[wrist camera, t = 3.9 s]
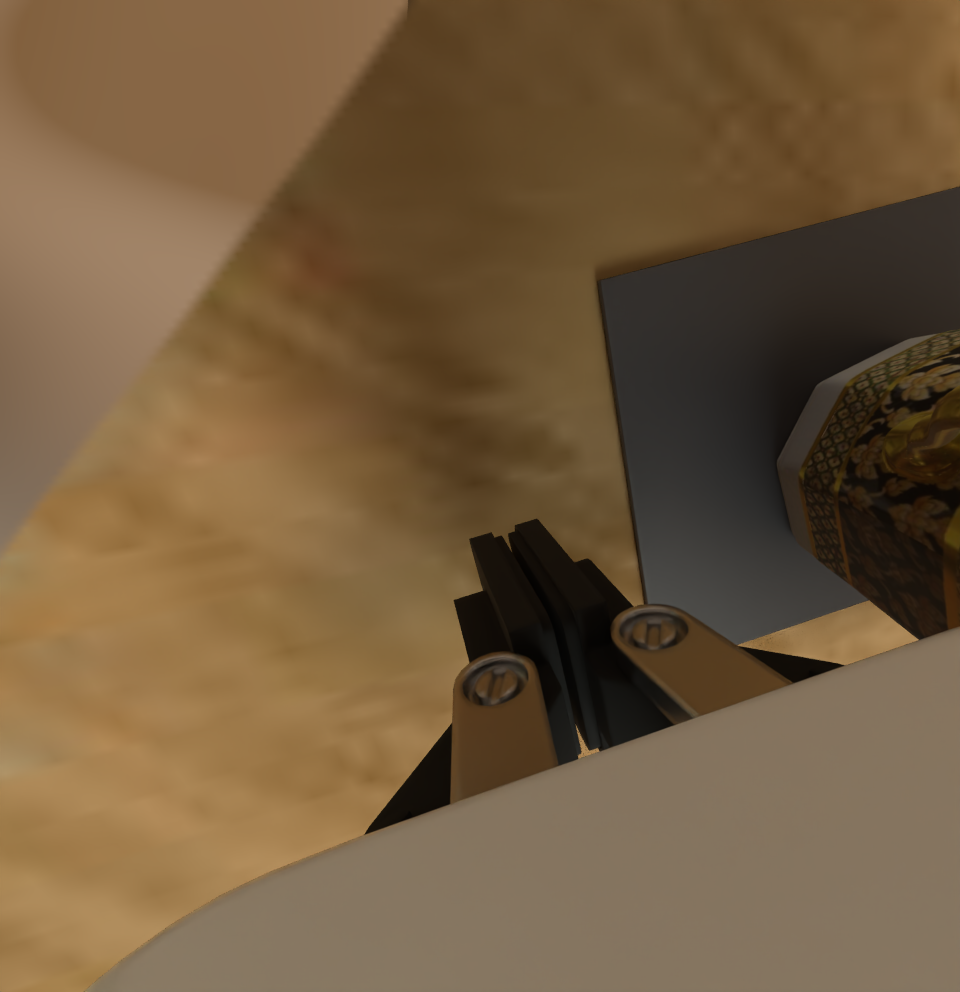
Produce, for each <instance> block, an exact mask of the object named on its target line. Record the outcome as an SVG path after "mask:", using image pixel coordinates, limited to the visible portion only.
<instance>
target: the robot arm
mask: <svg viewBox="0 0 960 992" xmlns="http://www.w3.org/2000/svg"><path fill="white" fill-rule="evenodd" d="M508 537H509V542H510V546H511V550H512V552H511V550H510V548H509V547H508V545H507V543H506V542H505V540H504V538H503V537H502V536H498V537H495V538H494V536H493V534H492V533H487V534H484V535H481V536H477V537H474V538H471V539H469V540H470V544H471V548H472V552H473V555H474V559H475V563H476V566H477V570H478V574H479V577H480V581H481V585H482V588H483V591H481V592H478V593H475V594H471V595H468V596H465V597H462V598H459V599H455V600H454V604H455V607H456V611H457V615H458V619H459V623H460V627H461V631H462V635H463V639H464V642H465V646H466V650H467V654H468V658H469V662H470V663H469V664H468V665H467V666H466V667H465V668H464V669H462V670H461V672H460V673H459V675H458V676H457V678H456V680H455V684H454V688H453V716H452V724H451V725H450V726H449V727H448V729H447V730H446V731H445V732H444V734H443V735H442V736H441V737H440V739H439V740H438V741H437V742H436V744H435V745H434V746H433V747H432V749H431V750H430V751H429V752H428V754H427V755H426V756H425V757H424V759H423V760H422V761H421V762H420V764H419V765H418V766H417V767H416V769H415V770H414V771H413V772H412V774H411V775H410V776H409V778H408V779H407V780H406V781H405V783H404V784H403V785H402V786H401V788H400V789H399V790H398V791H397V793H396V794H395V795H394V796H393V798H392V799H391V800H390V801H389V803H388V804H387V805H386V806H385V808H384V809H383V810H382V811H381V813H380V814H379V815H378V816H377V818H376V819H375V820H374V821H373V823H372V824H371V825H370V826H369V828H368V830H367V831H366V833H365V834H364V835H363V836H360V837H357V838H355V839H352V840H349V841H347V842H344V843H342V844H339V845H337V846H334V847H332V848H329V849H327V850H324V851H321V852H319V853H316V854H314V855H311V856H309V857H306V858H304V859H301V860H299V861H296V862H293V863H291V864H288V865H286V866H283V867H281V868H278V869H276V870H273V871H271V872H268V873H266V874H264V875H262V876H259V877H257V878H255V879H253V880H251V881H249V882H247V883H245V884H243V885H241V886H239V887H236V888H234V889H232V890H230V891H228V892H226V893H224V894H222V895H220V896H218V897H216V898H215V899H213V900H211V901H210V902H208V903H206V904H205V905H203V906H201V907H199V908H198V909H196V910H194V911H193V912H191V913H189V914H187V915H186V916H184V917H182V918H181V919H179V920H177V921H175V922H174V923H172V924H171V925H169V926H168V927H167V928H165V929H164V930H162V931H161V932H160V933H158V934H157V935H155V936H154V937H153V938H151V939H150V940H148V941H147V942H146V943H144V944H143V945H141V946H140V947H139V948H137V949H136V950H134V951H133V952H132V953H130V954H129V955H127V956H126V957H125V958H123V959H122V960H121V961H119V962H118V963H117V964H116V965H115V966H113V967H112V968H111V969H110V970H108V971H107V972H106V973H105V974H104V975H102V976H101V977H100V978H99V979H97V980H96V981H95V982H94V983H93V984H92V985H91V986H90V987H88V988H87V989H86V990H85V991H84V992H960V627H957V628H954V629H950V630H947V631H944V632H941V633H938V634H936V635H933V636H930V637H927V638H924V639H921V640H918V641H915V642H912V643H909V644H906V645H904V646H901V647H898V648H895V649H892V650H889V651H886V652H883V653H880V654H877V655H875V656H872V657H869V658H866V659H863V660H860V661H857V662H854V663H851V664H848V665H841V664H838V663H832V662H826V661H821V660H815V659H809V658H803V657H798V656H792V655H786V654H781V653H775V652H769V651H763V650H758V649H752V648H746V647H740V646H737V645H736V644H734V643H733V642H731V641H730V640H728V639H727V638H725V637H724V636H722V635H721V634H719V633H718V632H716V631H715V630H713V629H712V628H710V627H709V626H707V625H706V624H704V623H703V622H701V621H700V620H698V619H697V618H695V617H694V616H692V615H691V614H689V613H688V612H686V611H684V610H682V609H680V608H678V607H674V606H670V605H666V604H644V605H638V606H635V607H633V606H632V604H631V603H630V602H629V601H628V600H627V599H626V598H625V597H624V596H623V595H622V594H621V593H620V591H619V590H618V589H617V588H616V587H615V586H614V585H613V584H612V583H611V582H610V581H609V580H608V579H607V577H606V576H605V575H604V574H603V573H602V572H601V571H600V570H599V569H598V568H597V567H596V566H595V564H594V563H593V562H592V561H591V560H589V559H584V560H581V561H577V562H573V560H572V559H571V558H570V557H569V556H568V554H567V553H566V552H565V551H564V550H563V549H562V547H561V546H560V545H559V544H558V543H557V541H556V540H555V539H554V538H553V537H552V535H551V534H550V533H549V532H548V531H547V530H546V528H545V527H544V526H543V525H542V524H541V522H540V521H539V520H538V519H534V520H531V521H527V522H524V523H521V524H517V525H515V532H512V533H508ZM575 724H576V725H575ZM576 726H577V728H578V730H579V732H580V734H581V736H582V738H583V740H584V742H585V744H586V746H587V748H588V750H593V749H596V748H598V749H599V751H600V752H597V753H594V754H591V755H588V756H585V757H583V758H580V759H578V755H579V754H581V748H580V743H579V739H578V734H577V730H576Z"/></svg>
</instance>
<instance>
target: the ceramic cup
mask: <svg viewBox="0 0 960 992" xmlns="http://www.w3.org/2000/svg"><path fill="white" fill-rule="evenodd" d="M777 469H778V474H779V479H780V483H781V488H782V492H783V496H784V501H785V505H786V509H787V514H788V518H789V522H790V527H791V530H792V534H793V535H794V537H795V539H796V542H797V543H798V544H799V545H800V546H801V547H802V548H803V549H805V550H806V551H807V552H808V553H810V554H811V555H812V556H813V557H815V558H816V559H817V560H818V561H819V562H820V563H821V564H823V565H824V566H825V567H827V568H828V569H829V570H831V571H832V572H833V573H835V574H836V575H837V576H839V577H840V578H841V579H843V580H844V581H845V582H847V583H848V584H849V585H851V586H852V587H853V588H854V589H856V590H857V591H858V592H859V593H861V594H862V595H863V596H865V597H866V598H867V599H868V600H870V601H871V602H872V603H873V604H875V605H876V606H877V607H878V608H880V609H881V610H882V611H883V612H885V613H886V614H887V615H888V616H890V617H891V618H892V619H893V620H895V621H896V622H897V623H898V624H900V625H901V626H902V627H903V628H905V629H906V630H907V631H908V632H910V633H911V634H912V635H914V636H915V637H916V638H917V639H919V640H921V639H924V638H927V637H930V636H933V635H936V634H938V633H941V632H944V631H947V630H950V629H954V628H957V627H960V329H958V330H952V331H947V332H944V333H939V334H933V335H927V336H922V337H916V338H911V339H907V340H905V341H903V342H901V343H899V344H897V345H895V346H893V347H890V348H888V349H886V350H884V351H882V352H880V353H878V354H876V355H874V356H872V357H870V358H868V359H866V360H864V361H862V362H860V363H858V364H856V365H854V366H852V367H850V368H848V369H846V370H844V371H842V372H840V373H838V374H836V375H834V376H832V377H830V378H828V379H826V380H824V381H822V382H820V383H819V384H817V386H816V387H815V389H814V390H813V392H812V394H811V396H810V398H809V400H808V402H807V404H806V406H805V408H804V410H803V412H802V413H801V415H800V417H799V419H798V421H797V423H796V425H795V427H794V429H793V431H792V433H791V435H790V436H789V438H788V440H787V442H786V444H785V446H784V448H783V450H782V452H781V454H780V456H779V458H778V459H777Z"/></svg>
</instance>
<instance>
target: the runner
mask: <svg viewBox="0 0 960 992" xmlns="http://www.w3.org/2000/svg"><path fill="white" fill-rule="evenodd" d="M598 289H599V296H600V302H601V309H602V316H603V323H604V329H605V336H606V343H607V350H608V356H609V363H610V370H611V377H612V383H613V390H614V397H615V403H616V410H617V417H618V424H619V430H620V437H621V444H622V451H623V457H624V464H625V471H626V478H627V484H628V491H629V498H630V504H631V511H632V518H633V525H634V531H635V538H636V545H637V552H638V558H639V565H640V572H641V579H642V585H643V592H644V599H645V604H666V605H670V606H674V607H678V608H680V609H682V610H684V611H686V612H688V613H689V614H691V615H692V616H694V617H695V618H697V619H698V620H700V621H701V622H703V623H704V624H706V625H707V626H709V627H710V628H712V629H713V630H715V631H716V632H718V633H719V634H721V635H722V636H724V637H725V638H727V639H728V640H730V641H731V642H733V643H734V644H736V645H738V644H741V643H744V642H747V641H750V640H753V639H756V638H759V637H762V636H765V635H768V634H771V633H773V632H776V631H779V630H782V629H785V628H788V627H791V626H794V625H797V624H800V623H803V622H806V621H809V620H812V619H815V618H818V617H821V616H823V615H826V614H829V613H832V612H835V611H838V610H841V609H844V608H847V607H850V606H853V605H856V604H859V603H862V602H865V601H868V599H867V598H866V597H865V596H863V595H862V594H861V593H859V592H858V591H857V590H856V589H854V588H853V587H852V586H851V585H849V584H848V583H847V582H845V581H844V580H843V579H841V578H840V577H839V576H837V575H836V574H835V573H833V572H832V571H831V570H829V569H828V568H827V567H825V566H824V565H823V564H821V563H820V562H819V561H818V560H817V559H816V558H815V557H813V556H812V555H811V554H810V553H808V552H807V551H806V550H805V549H803V548H802V547H801V546H800V545H799V544H798V543H797V542H796V539H795V537H794V535H793V534H792V530H791V527H790V522H789V518H788V514H787V509H786V505H785V501H784V496H783V492H782V488H781V483H780V479H779V474H778V469H777V459H778V458H779V456H780V454H781V452H782V450H783V448H784V446H785V444H786V442H787V440H788V438H789V436H790V435H791V433H792V431H793V429H794V427H795V425H796V423H797V421H798V419H799V417H800V415H801V413H802V412H803V410H804V408H805V406H806V404H807V402H808V400H809V398H810V396H811V394H812V392H813V390H814V389H815V387H816V386H817V384H819V383H820V382H822V381H824V380H826V379H828V378H830V377H832V376H834V375H836V374H838V373H840V372H842V371H844V370H846V369H848V368H850V367H852V366H854V365H856V364H858V363H860V362H862V361H864V360H866V359H868V358H870V357H872V356H874V355H876V354H878V353H880V352H882V351H884V350H886V349H888V348H890V347H893V346H895V345H897V344H899V343H901V342H903V341H905V340H907V339H911V338H916V337H922V336H927V335H933V334H939V333H944V332H947V331H952V330H958V329H960V187H956V188H952V189H949V190H945V191H941V192H937V193H933V194H929V195H926V196H922V197H918V198H914V199H910V200H906V201H903V202H899V203H895V204H891V205H887V206H883V207H879V208H876V209H872V210H868V211H864V212H860V213H856V214H853V215H849V216H845V217H841V218H837V219H833V220H829V221H826V222H822V223H818V224H814V225H810V226H806V227H803V228H799V229H795V230H791V231H787V232H783V233H780V234H776V235H772V236H768V237H764V238H760V239H756V240H753V241H749V242H745V243H741V244H737V245H733V246H730V247H726V248H722V249H718V250H714V251H710V252H707V253H703V254H699V255H695V256H691V257H687V258H683V259H680V260H676V261H672V262H668V263H664V264H660V265H657V266H653V267H649V268H645V269H641V270H637V271H634V272H630V273H626V274H622V275H618V276H614V277H610V278H607V279H603V280H599V281H598Z"/></svg>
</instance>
